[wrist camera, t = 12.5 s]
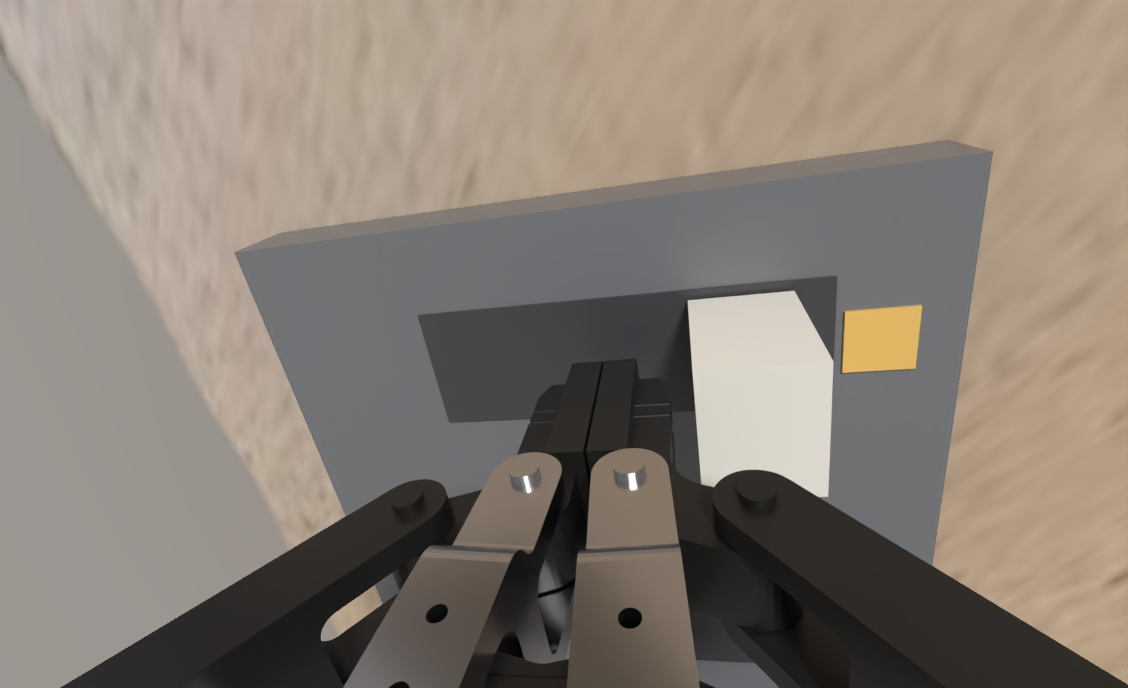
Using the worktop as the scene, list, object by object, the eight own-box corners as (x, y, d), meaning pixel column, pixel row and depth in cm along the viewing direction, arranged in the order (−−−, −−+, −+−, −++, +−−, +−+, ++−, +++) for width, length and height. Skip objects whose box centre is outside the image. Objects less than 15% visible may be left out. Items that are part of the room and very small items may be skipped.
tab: (794, 290, 13) (833, 361, 10) (793, 402, 14) (828, 496, 11) (687, 300, 13) (692, 370, 10) (696, 406, 15) (702, 498, 11)
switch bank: (949, 140, 13) (994, 152, 11) (889, 658, 20) (911, 717, 18) (280, 232, 17) (232, 253, 15) (434, 636, 24) (414, 683, 22)
